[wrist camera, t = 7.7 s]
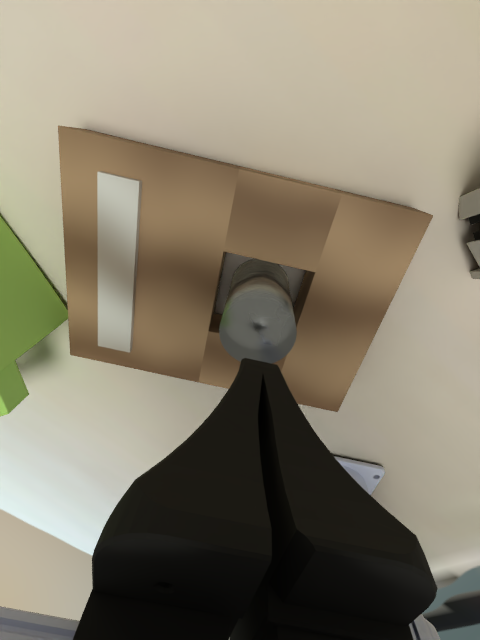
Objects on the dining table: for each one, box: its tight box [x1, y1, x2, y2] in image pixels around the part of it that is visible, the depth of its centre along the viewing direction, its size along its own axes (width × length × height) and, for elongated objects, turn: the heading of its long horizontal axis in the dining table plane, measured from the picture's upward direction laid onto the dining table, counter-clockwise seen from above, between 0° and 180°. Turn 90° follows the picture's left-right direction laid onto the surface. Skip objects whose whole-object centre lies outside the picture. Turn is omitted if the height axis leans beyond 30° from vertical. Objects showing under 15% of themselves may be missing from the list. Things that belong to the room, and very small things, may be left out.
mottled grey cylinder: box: [219, 259, 297, 363], centre depth 17 cm, size 4×4×6 cm
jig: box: [58, 126, 433, 412], centre depth 19 cm, size 13×18×3 cm
